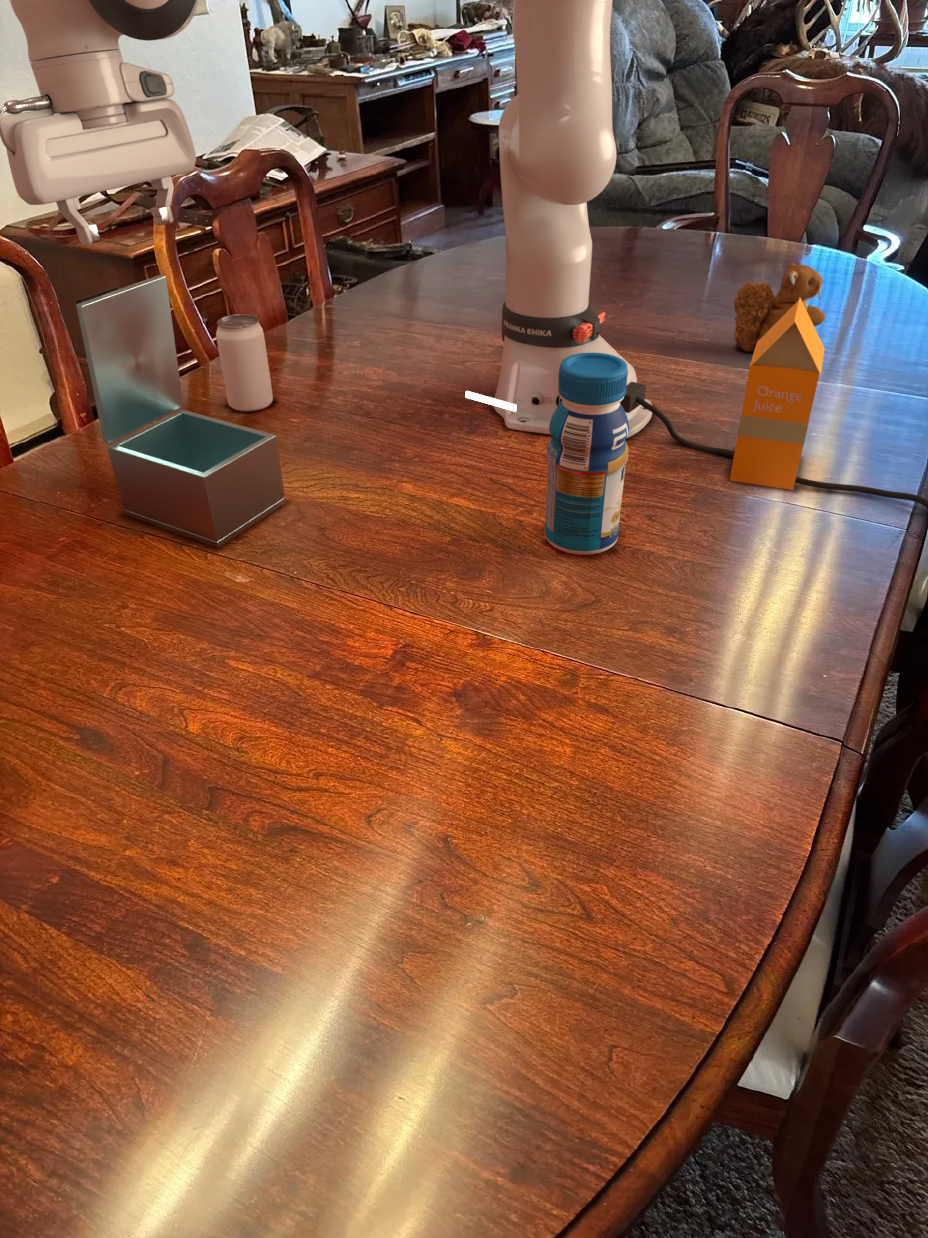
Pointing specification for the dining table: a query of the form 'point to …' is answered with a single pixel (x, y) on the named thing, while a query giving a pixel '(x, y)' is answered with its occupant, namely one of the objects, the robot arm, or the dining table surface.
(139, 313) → the lid
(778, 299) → the stuffed squirrel
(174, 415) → the open metal box
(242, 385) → the can
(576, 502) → the beverage bottle
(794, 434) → the orange juice
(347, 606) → the dining table surface
